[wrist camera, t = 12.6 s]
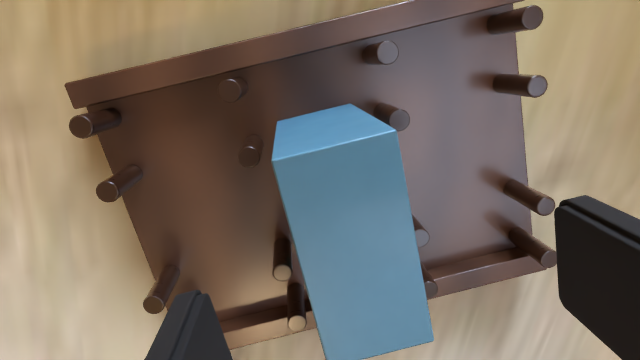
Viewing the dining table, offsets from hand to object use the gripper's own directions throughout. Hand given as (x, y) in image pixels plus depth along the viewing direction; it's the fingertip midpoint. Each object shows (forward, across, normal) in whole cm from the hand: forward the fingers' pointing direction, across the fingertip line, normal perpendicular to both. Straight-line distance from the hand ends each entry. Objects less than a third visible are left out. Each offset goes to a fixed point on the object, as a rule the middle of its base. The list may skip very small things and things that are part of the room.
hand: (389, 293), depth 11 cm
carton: (+12, 0, +1) cm, 12 cm away
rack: (+13, 0, 0) cm, 13 cm away
